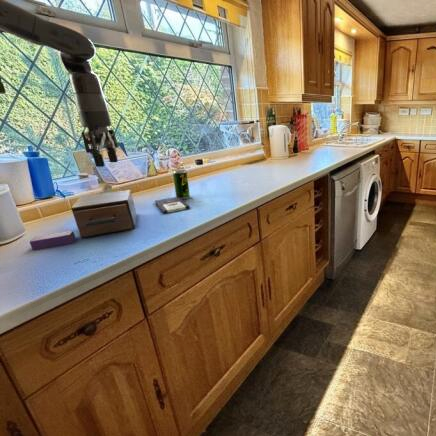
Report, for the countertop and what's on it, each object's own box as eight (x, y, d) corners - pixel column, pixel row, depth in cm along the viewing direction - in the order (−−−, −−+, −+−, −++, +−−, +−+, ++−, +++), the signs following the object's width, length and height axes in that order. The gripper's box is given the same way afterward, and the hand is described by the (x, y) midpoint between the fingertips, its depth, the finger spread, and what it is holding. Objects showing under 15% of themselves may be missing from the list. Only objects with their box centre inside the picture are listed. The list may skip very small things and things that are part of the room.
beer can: (173, 198, 128) (169, 170, 125) (182, 195, 134) (178, 168, 130) (184, 199, 127) (180, 171, 124) (192, 196, 132) (189, 169, 129)
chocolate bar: (178, 196, 129) (189, 205, 115) (178, 198, 129) (189, 208, 116) (155, 200, 124) (163, 210, 110) (155, 202, 124) (163, 213, 111)
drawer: (131, 233, 91) (124, 208, 89) (78, 242, 85) (69, 217, 83) (134, 215, 107) (128, 194, 104) (89, 222, 101) (82, 200, 99)
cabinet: (135, 228, 97) (127, 199, 94) (81, 238, 91) (71, 207, 88) (136, 215, 110) (130, 189, 107) (89, 222, 104) (81, 196, 101)
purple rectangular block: (32, 250, 84) (29, 241, 83) (37, 245, 87) (33, 236, 86) (73, 242, 88) (70, 234, 87) (75, 238, 91) (73, 230, 90)
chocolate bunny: (98, 208, 120) (90, 183, 117) (118, 202, 127) (111, 179, 123) (106, 209, 118) (99, 185, 114) (126, 204, 124) (120, 180, 121)
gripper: (92, 110, 96) (106, 161, 102) (63, 110, 83) (81, 168, 89) (117, 110, 98) (130, 160, 103) (93, 109, 84) (109, 167, 90)
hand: (107, 164), depth 96 cm, fingers open, 8 cm apart
